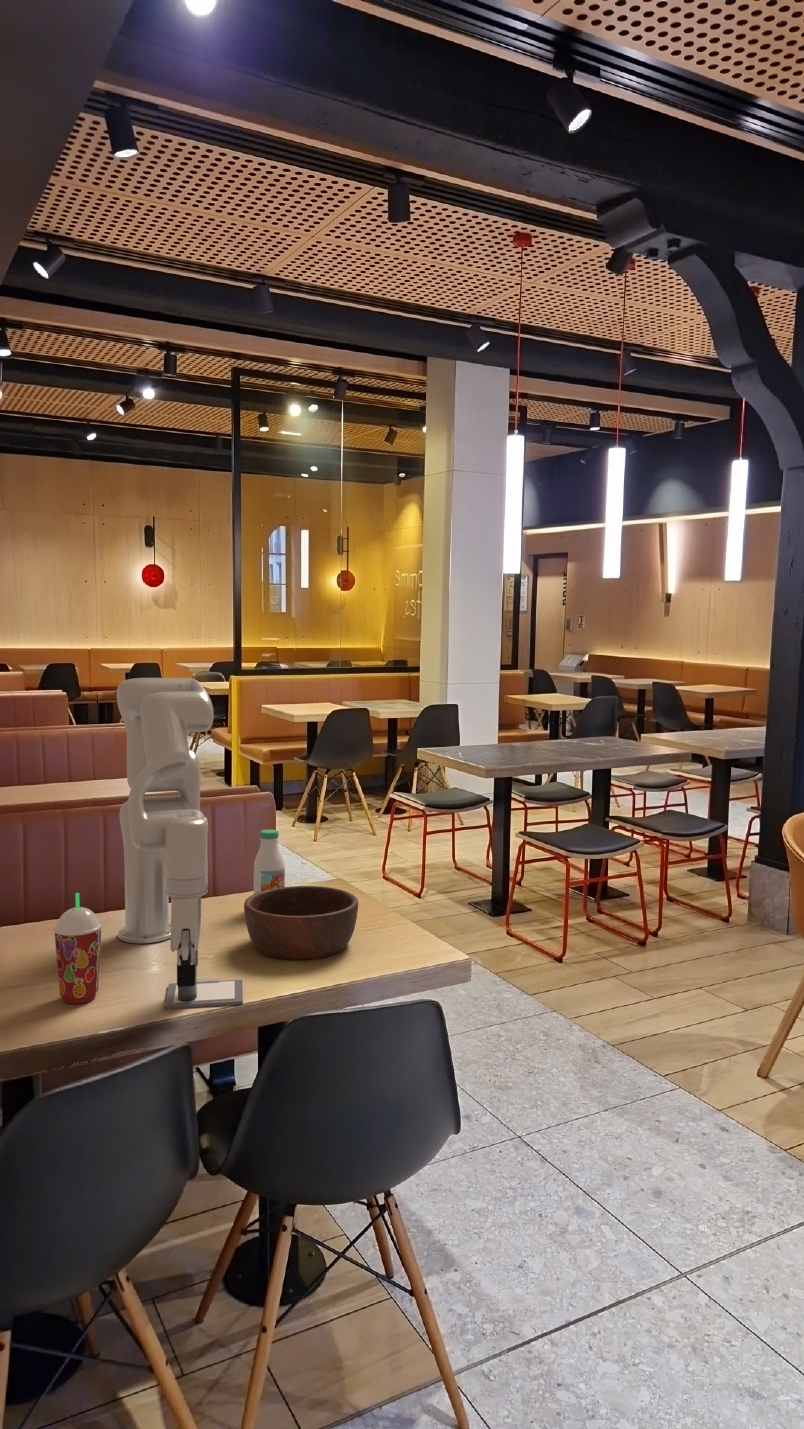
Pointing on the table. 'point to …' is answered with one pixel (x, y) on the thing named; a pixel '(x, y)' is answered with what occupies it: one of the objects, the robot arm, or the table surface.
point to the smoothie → (78, 954)
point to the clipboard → (208, 994)
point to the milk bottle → (269, 863)
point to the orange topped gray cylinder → (188, 991)
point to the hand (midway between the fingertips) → (187, 975)
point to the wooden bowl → (301, 921)
